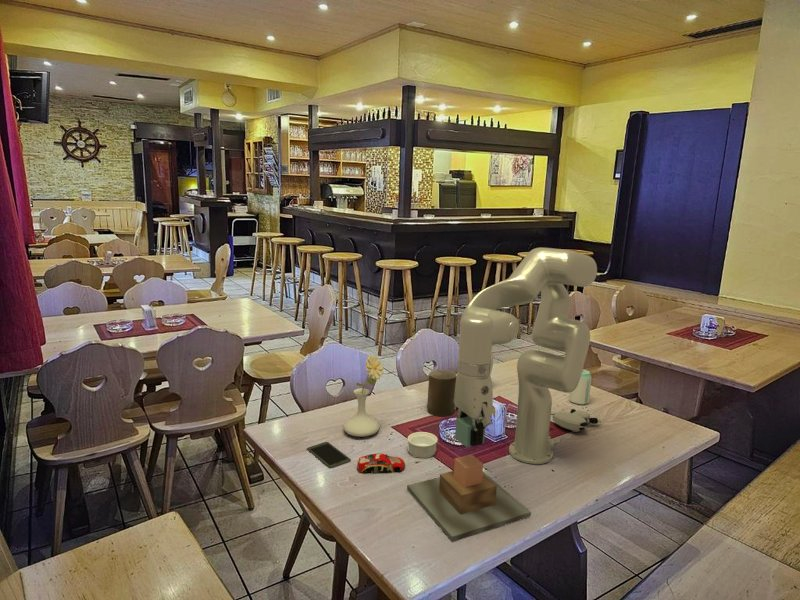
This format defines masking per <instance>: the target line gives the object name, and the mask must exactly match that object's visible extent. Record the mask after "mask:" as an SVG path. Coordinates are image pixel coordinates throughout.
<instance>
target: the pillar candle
mask: <svg viewBox="0 0 800 600" xmlns="http://www.w3.org/2000/svg"><path fill="white" fill-rule="evenodd" d="M456 377H457V373H456V372H454V371H451V370H444V369H437V370H430V371H429V373H428V387H427V405H426V406H427V407H426V410H427V412H428V413H429V414H430V415H433V416H436V417H450V416H452V415H454V414H455V412H456V407H455V404H454V402H453V399H454V394H455V384H456Z"/></svg>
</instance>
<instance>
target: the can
mask: <svg viewBox="0 0 800 600" xmlns="http://www.w3.org/2000/svg"><path fill="white" fill-rule="evenodd" d="M591 384H592V375H591V372H590V371H589V370H587V369H584V368H583V370H582V374H581V377H580V381H579V383H578V386H577V387H576V389H575V390H574V391H573V392H570V393H569V396H568V399H569V401H570V402H572V403H573V404H575V405H578V406H580V405H581V406H584V404H585V405H587V404H589V403H590V397H591V395H590V394H591Z"/></svg>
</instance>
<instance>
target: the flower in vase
mask: <svg viewBox="0 0 800 600" xmlns="http://www.w3.org/2000/svg"><path fill="white" fill-rule="evenodd" d="M364 365H365V369H366V374H367V376H366V379H365V382H364V384H361V383H359V382H357V383H356V386H358V387H360V388H356V389H354V390H353V393H354V394H355V396H356V398H357V411H356V413H355V415H353V416H351V417H350V418H348V419H347V420H346V421H345V422H344V425H343V427H342V428H343V430H344V431H345V433H346V434H348V435H349V436H353V437H361V438H362V437H369V436H373V435H375V434H376V433H378V431H379V429H380V425H379V422H378V421H377V420H375V418H374V417H372V416H370V415H369V414H368V413H367V412H366V400H367V397H368V395H369V394H370V392H371V391H370V389H367V388H366V385H367V383H368V384H369V385H371V386H373V385H374V384H376V383H377V381H378V380H380V379H381V377H383V374H384V371H383V370H384V367H383V363H381V360H380V359H379V358H378V357H377V356H376V355H374V354H373V355H370V354H369V355H368V356H367V359H365V364H364ZM361 387H362V388H361Z"/></svg>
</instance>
